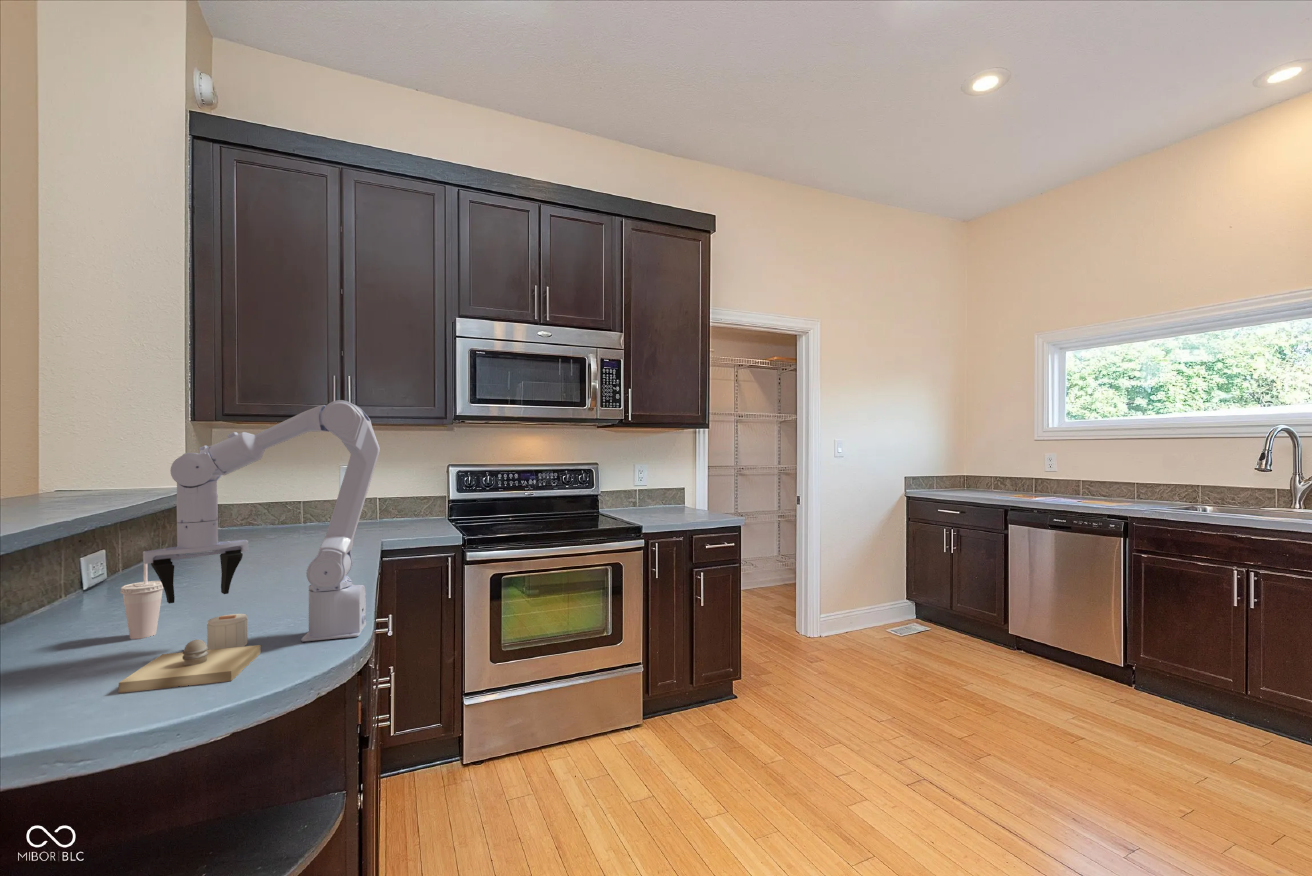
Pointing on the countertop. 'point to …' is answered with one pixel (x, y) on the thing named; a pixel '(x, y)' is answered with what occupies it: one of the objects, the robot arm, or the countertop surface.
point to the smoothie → (142, 606)
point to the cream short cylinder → (227, 631)
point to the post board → (191, 667)
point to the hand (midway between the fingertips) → (198, 597)
